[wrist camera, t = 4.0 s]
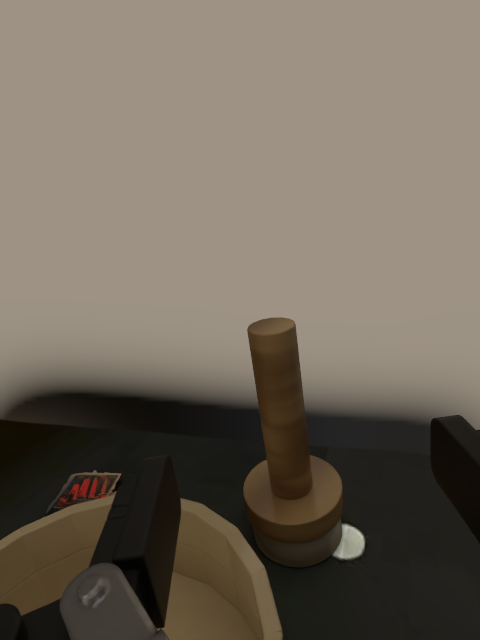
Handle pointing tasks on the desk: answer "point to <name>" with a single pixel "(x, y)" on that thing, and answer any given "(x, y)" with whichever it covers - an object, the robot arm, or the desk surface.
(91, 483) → the small printed card
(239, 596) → the bowl
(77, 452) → the desk surface
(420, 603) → the desk surface
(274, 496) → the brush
